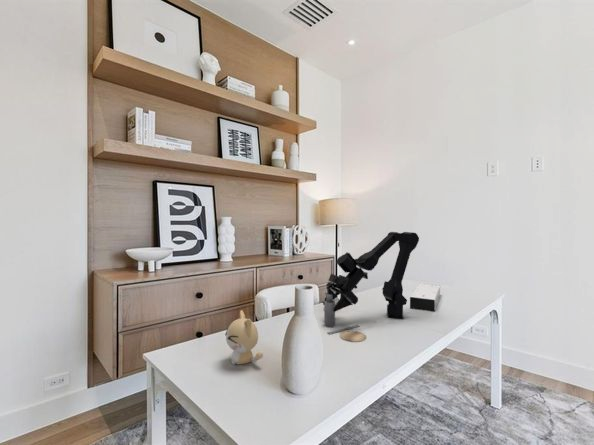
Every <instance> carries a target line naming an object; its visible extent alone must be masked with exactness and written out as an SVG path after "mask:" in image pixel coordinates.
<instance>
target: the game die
mask: <svg viewBox="0 0 594 445" xmlns="http://www.w3.org/2000/svg"><path fill="white" fill-rule="evenodd" d="M324 294H325V296H324V299H323V300H322V301H321V304H323V302H324V300H325V297H326V295H327V292H324ZM339 300H340V298H339V297H337V298H335V299H334V300H333V301H335V306H336V304H337V303H338V301H339Z"/></svg>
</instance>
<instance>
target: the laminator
mask: <svg viewBox="0 0 594 445" xmlns="http://www.w3.org/2000/svg"><path fill="white" fill-rule="evenodd" d="M440 298H441V286H440V285H437V284H429V283H419V284H418V286H417V287H416V288H415V290H414V292H412V294H411V296H410V297H409V309H413V310H420V311H426V312H427V311H428V312H433V313H435V311H436V310H437V306H438V303H439V300H440Z"/></svg>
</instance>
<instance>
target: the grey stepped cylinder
mask: <svg viewBox="0 0 594 445" xmlns="http://www.w3.org/2000/svg"><path fill="white" fill-rule="evenodd" d="M326 294H327V293H326ZM323 301H324V300H323ZM323 307H324V309H323V310H324V313H323V314H324V316H323V320H324V322H323V323H324V327H326V328H334V327H335V326H336V316H335V315H336V312H334V311H333V309H334V307H335V301H333V294H327V301H324V305H323Z"/></svg>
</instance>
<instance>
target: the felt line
mask: <svg viewBox="0 0 594 445" xmlns="http://www.w3.org/2000/svg"><path fill="white" fill-rule="evenodd" d="M359 327H361V326H360V325H359V324H356V325H355V324H354V325H352V326H351V325H350V326H348V327H344V328H339V329H336V330H333V331H329V332H327V335H329V336H330V335H334V334H337V333H341V332H344V331H350V330H352V329H357V328H359Z"/></svg>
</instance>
